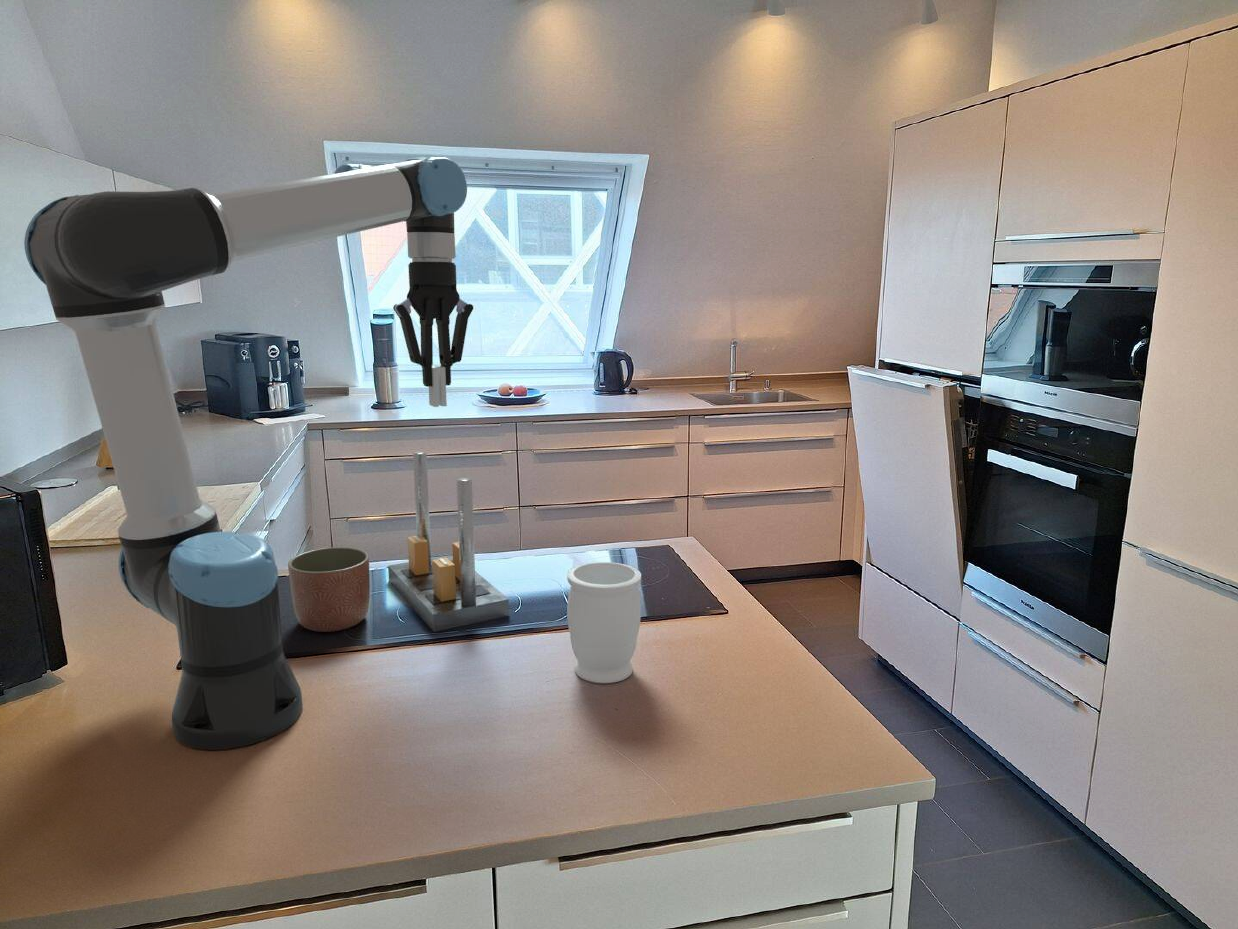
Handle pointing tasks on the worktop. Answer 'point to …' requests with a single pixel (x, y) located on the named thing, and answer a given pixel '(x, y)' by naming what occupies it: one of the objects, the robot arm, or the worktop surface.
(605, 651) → the jar
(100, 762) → the worktop surface
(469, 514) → the peg stand with blocks
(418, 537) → the tan wooden block
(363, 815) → the worktop surface
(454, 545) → the tan upright block
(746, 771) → the worktop surface
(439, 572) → the slotted wooden block
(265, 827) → the worktop surface
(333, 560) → the planter
